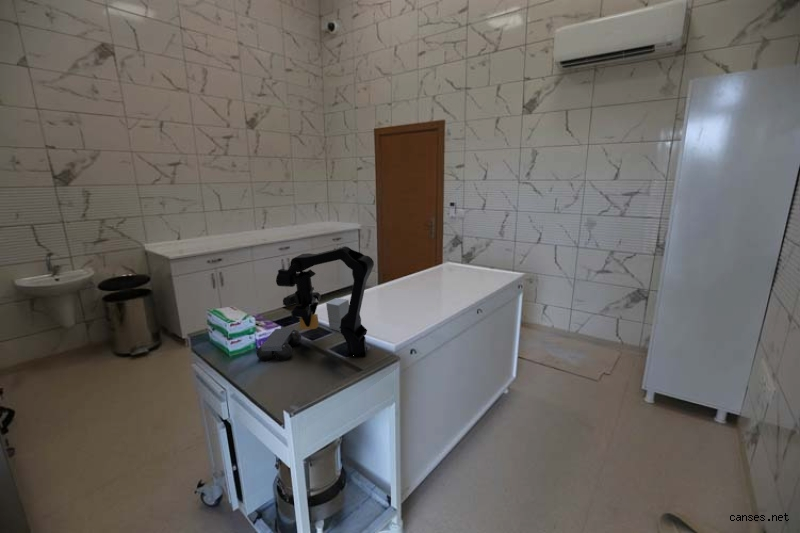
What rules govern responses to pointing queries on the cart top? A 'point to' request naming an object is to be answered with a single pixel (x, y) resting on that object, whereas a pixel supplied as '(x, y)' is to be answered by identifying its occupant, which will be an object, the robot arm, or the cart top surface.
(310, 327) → the block
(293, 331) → the trolley
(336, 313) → the supplement box
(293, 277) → the robot arm
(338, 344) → the cart top surface
